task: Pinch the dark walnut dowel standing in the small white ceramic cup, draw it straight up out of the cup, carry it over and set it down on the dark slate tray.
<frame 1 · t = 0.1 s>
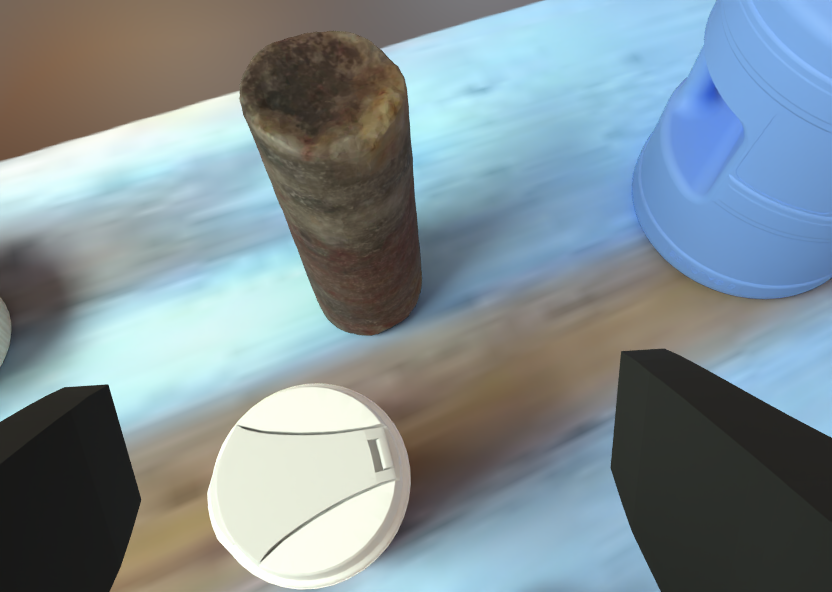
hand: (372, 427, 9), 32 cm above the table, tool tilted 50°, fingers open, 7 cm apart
coffee cup: (349, 514, 40), on the table
water jug: (736, 206, 48), on the table
brown rounded cylinder: (369, 287, 46), on the table
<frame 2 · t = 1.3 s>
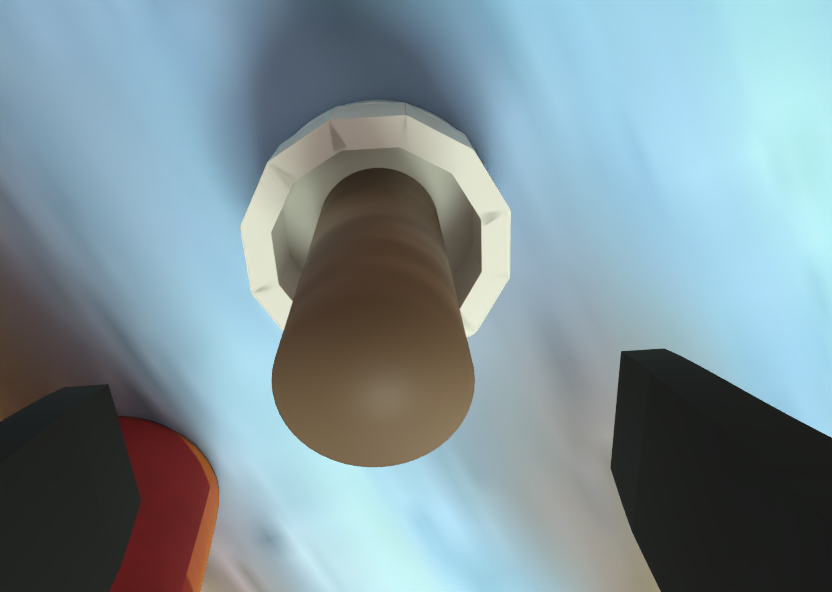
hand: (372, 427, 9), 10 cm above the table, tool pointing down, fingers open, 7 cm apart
coffee cup: (133, 486, 22), on the table
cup: (379, 217, 18), on the table
dowel: (379, 226, 18), point 1 cm above the table, touching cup
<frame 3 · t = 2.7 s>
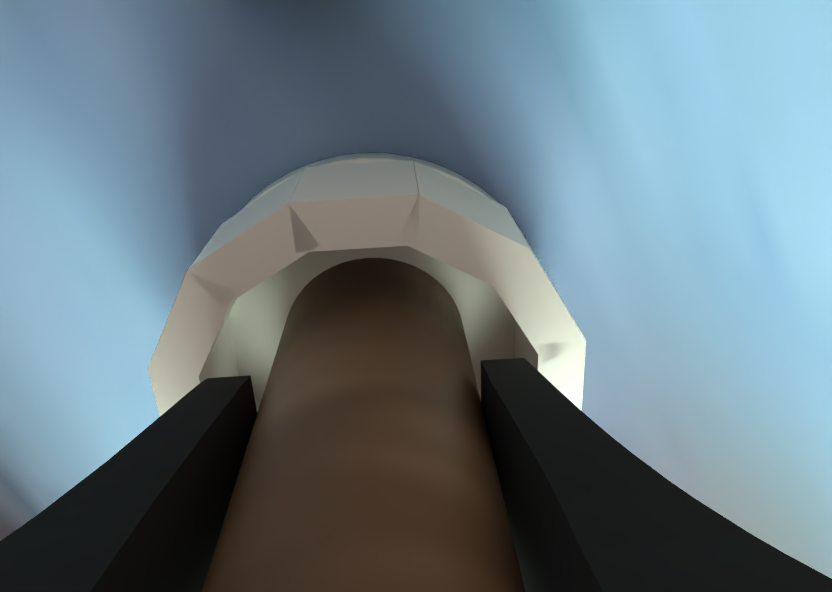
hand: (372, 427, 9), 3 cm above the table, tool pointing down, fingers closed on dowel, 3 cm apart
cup: (375, 321, 12), on the table
dowel: (374, 341, 12), point 1 cm above the table, touching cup, gripper
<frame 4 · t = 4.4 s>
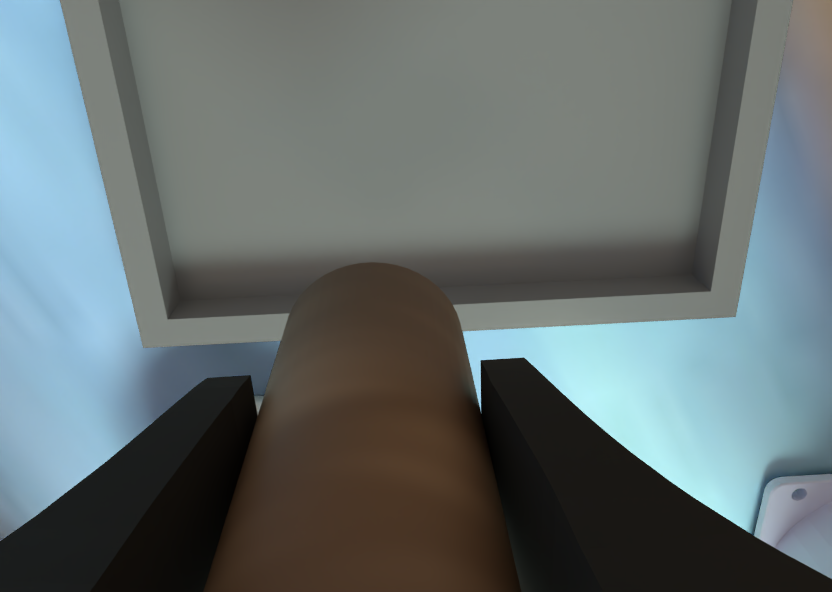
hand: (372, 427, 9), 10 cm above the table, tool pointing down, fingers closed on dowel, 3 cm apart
dowel: (374, 345, 12), point 7 cm above the table, touching gripper
tray: (432, 112, 17), on the table
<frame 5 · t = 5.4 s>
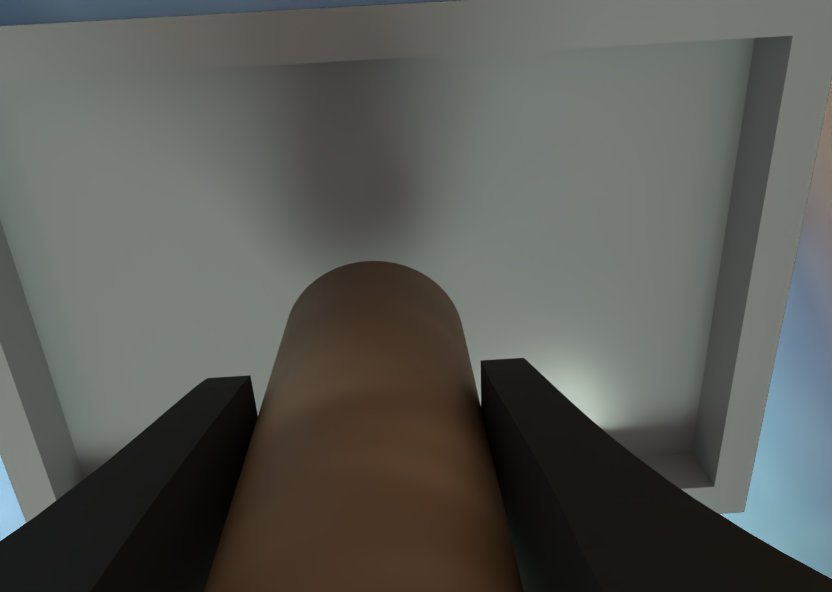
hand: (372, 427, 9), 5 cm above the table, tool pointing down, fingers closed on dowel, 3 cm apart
dowel: (374, 343, 12), point 3 cm above the table, touching gripper
tray: (378, 282, 14), on the table
when the fingers open (4 cm above the table, at t = 6.0 s): dowel stays where it is, resting on tray.
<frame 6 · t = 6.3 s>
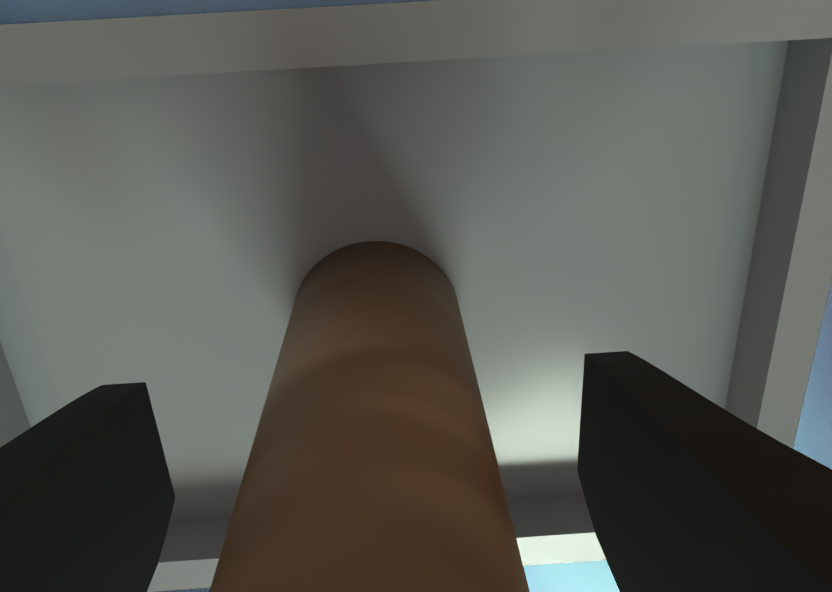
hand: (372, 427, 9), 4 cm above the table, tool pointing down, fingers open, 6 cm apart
dowel: (376, 319, 13), point 1 cm above the table, touching tray
tray: (376, 303, 13), on the table
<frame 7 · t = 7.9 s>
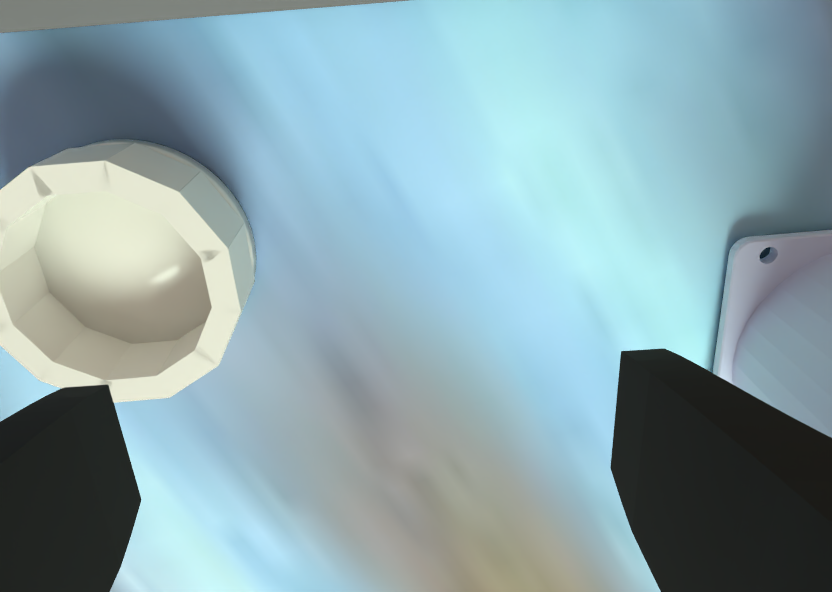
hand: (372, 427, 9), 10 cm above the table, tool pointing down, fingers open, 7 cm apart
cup: (142, 251, 19), on the table
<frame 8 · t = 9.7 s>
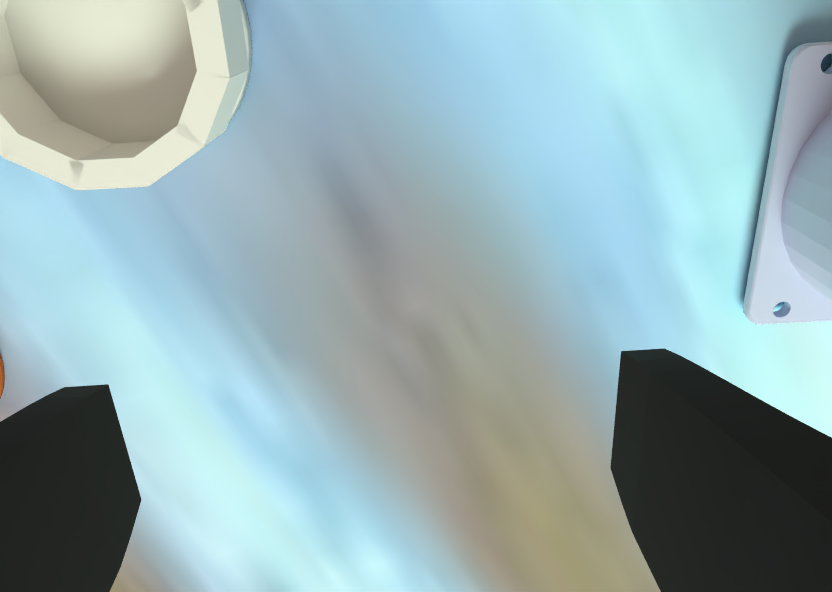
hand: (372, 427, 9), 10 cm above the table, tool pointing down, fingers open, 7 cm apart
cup: (126, 37, 17), on the table
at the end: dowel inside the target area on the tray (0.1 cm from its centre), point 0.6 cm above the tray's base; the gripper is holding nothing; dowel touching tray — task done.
